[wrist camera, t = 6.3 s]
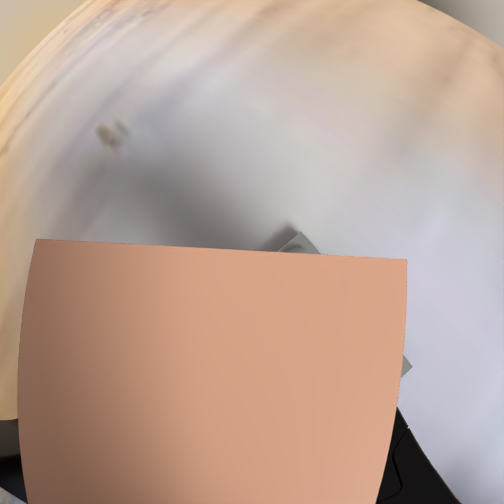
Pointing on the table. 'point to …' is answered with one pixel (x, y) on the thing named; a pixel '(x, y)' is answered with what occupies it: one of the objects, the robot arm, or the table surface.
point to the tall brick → (207, 374)
